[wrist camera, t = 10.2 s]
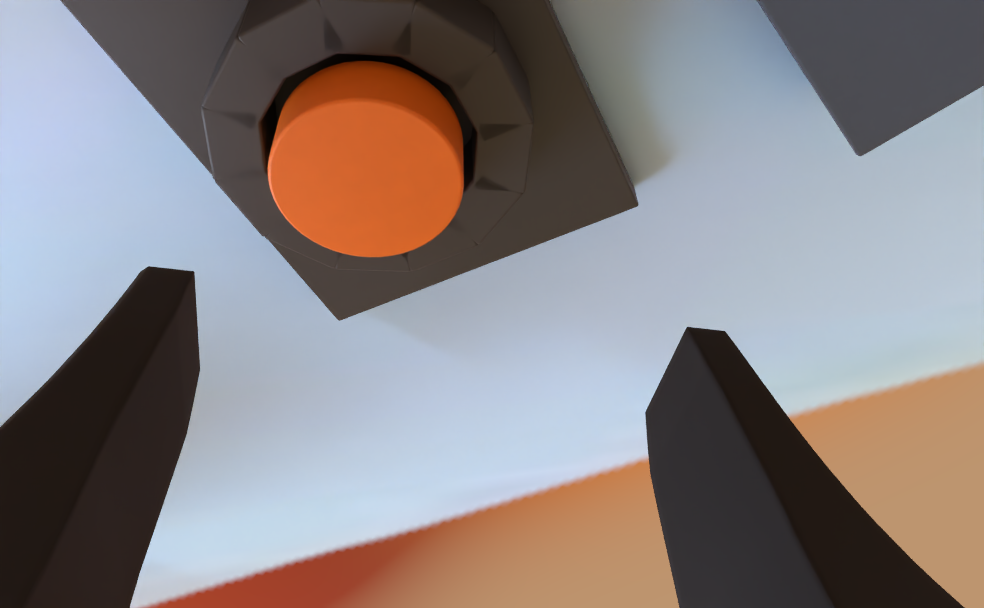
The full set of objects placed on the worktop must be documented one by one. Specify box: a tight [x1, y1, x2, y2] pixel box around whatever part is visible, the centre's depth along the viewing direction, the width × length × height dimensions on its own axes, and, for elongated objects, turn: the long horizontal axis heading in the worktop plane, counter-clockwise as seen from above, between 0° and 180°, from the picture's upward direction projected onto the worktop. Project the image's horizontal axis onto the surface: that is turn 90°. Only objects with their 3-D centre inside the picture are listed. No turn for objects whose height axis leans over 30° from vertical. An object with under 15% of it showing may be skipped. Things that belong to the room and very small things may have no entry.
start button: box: [268, 61, 464, 257], centre depth 19 cm, size 4×4×2 cm
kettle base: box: [61, 0, 638, 321], centre depth 20 cm, size 11×9×3 cm
